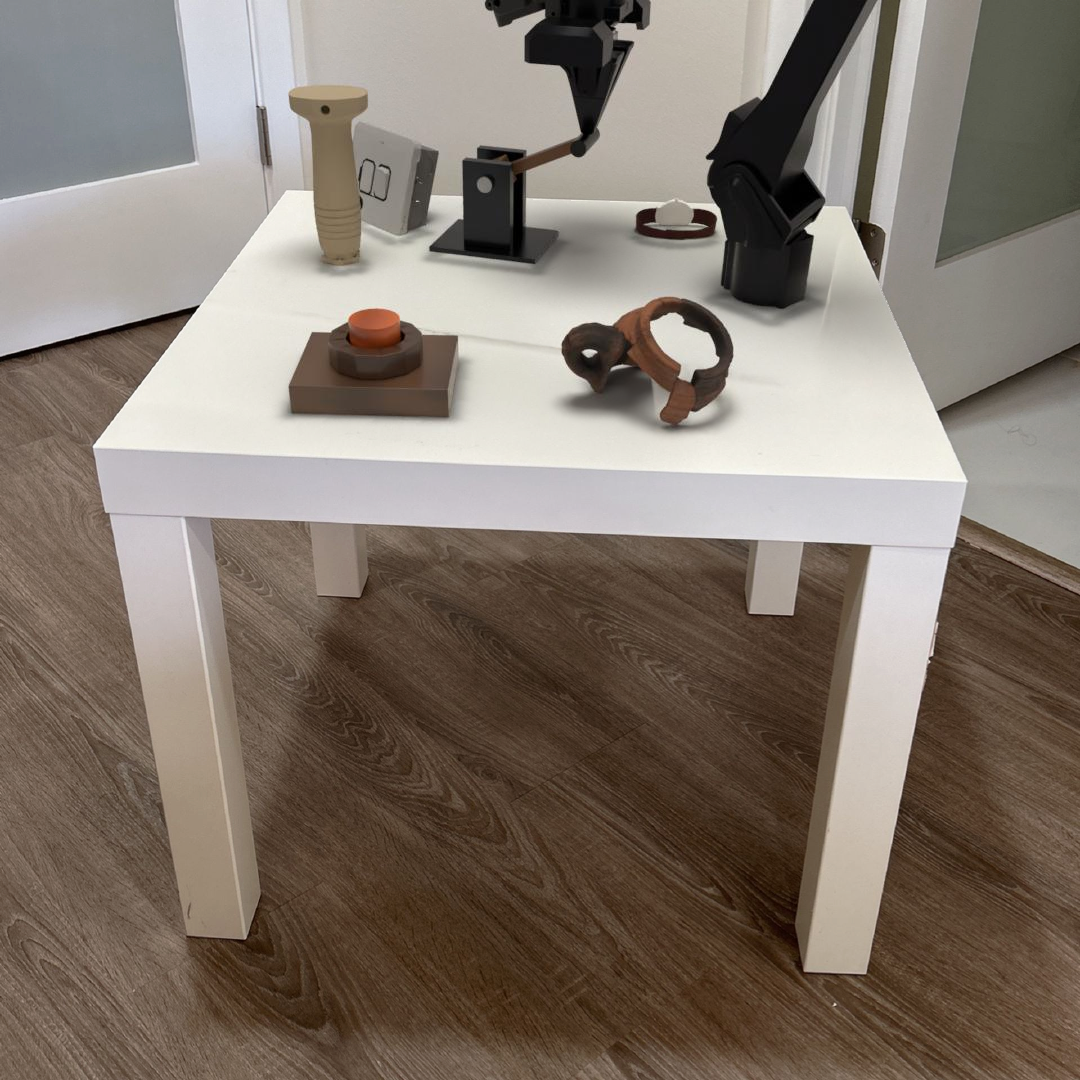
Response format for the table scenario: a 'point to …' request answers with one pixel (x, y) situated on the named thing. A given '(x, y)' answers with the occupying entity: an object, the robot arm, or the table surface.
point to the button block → (376, 375)
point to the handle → (333, 166)
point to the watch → (675, 220)
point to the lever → (554, 153)
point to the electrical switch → (392, 178)
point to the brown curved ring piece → (652, 354)
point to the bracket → (494, 212)
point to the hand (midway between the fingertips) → (587, 133)
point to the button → (374, 329)
